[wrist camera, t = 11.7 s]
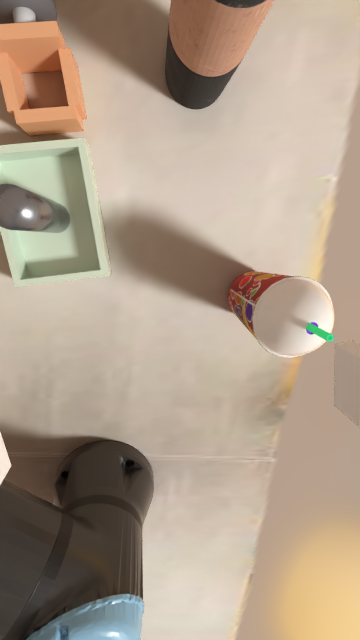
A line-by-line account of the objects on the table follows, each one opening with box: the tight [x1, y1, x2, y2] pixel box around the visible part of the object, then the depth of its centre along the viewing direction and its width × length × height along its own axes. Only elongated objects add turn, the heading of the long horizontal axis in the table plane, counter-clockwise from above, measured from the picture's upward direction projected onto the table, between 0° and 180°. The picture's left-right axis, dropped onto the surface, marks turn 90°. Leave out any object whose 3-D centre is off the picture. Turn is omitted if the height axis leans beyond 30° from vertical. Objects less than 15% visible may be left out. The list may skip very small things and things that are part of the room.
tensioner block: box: [0, 0, 87, 136], centre depth 31 cm, size 10×7×8 cm
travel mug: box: [165, 0, 274, 109], centre depth 27 cm, size 8×8×20 cm
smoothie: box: [228, 271, 334, 358], centre depth 35 cm, size 8×8×20 cm
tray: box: [0, 138, 111, 288], centre depth 37 cm, size 15×11×4 cm
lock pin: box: [0, 184, 70, 233], centre depth 32 cm, size 4×4×13 cm
